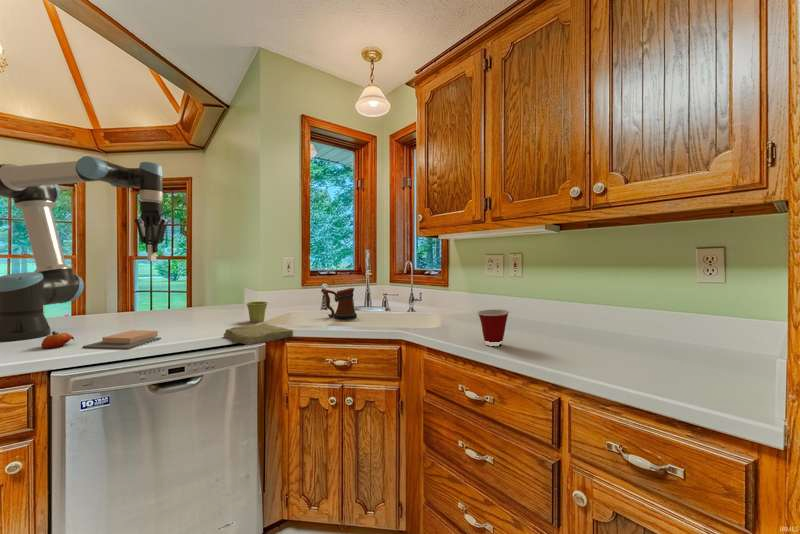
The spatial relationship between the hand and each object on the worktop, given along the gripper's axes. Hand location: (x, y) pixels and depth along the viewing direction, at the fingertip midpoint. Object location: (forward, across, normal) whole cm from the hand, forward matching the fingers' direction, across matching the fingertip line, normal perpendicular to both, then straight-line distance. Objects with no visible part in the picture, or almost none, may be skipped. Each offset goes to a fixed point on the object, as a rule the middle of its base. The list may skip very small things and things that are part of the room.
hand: (151, 260), depth 142 cm
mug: (+28, -67, -39) cm, 82 cm away
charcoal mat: (+28, -7, +21) cm, 36 cm away
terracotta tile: (+27, -7, +12) cm, 30 cm away
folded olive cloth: (+29, -47, +6) cm, 56 cm away
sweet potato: (+29, +12, +27) cm, 41 cm away
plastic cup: (+28, -134, +10) cm, 137 cm away
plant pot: (+28, -32, -24) cm, 49 cm away
